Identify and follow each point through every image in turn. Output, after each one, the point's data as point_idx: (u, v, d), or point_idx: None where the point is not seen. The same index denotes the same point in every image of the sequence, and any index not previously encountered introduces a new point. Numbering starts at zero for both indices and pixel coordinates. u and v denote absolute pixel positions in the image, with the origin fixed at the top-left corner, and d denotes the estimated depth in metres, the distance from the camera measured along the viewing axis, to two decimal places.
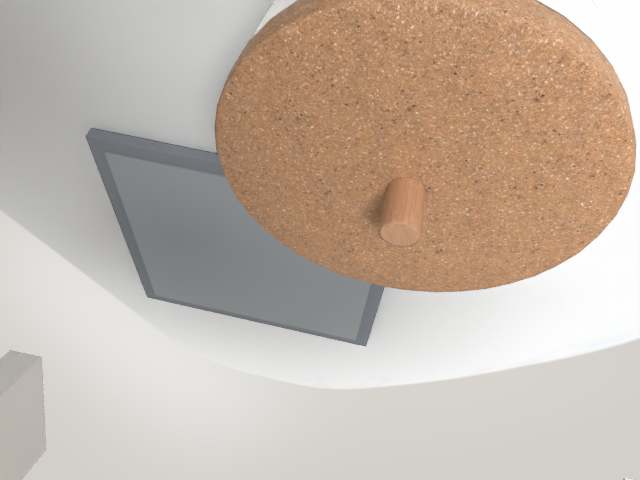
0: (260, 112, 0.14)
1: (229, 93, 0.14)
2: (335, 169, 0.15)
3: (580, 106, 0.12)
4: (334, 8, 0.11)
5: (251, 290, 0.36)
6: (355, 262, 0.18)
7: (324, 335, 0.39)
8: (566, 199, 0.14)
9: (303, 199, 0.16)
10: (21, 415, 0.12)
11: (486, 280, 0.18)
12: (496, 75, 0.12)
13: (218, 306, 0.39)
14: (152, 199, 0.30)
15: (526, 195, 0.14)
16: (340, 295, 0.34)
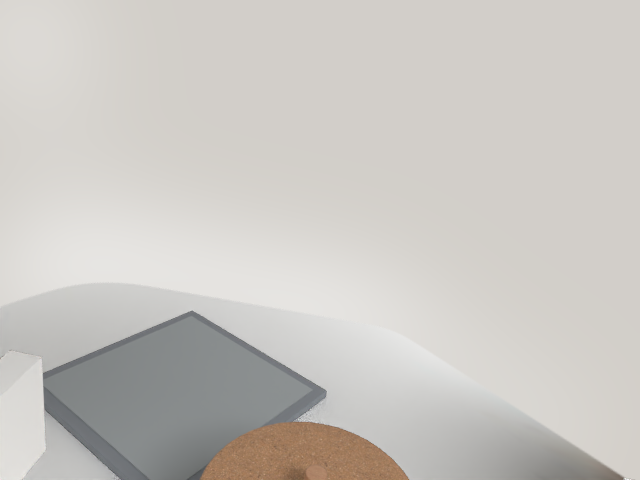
0: (386, 471, 0.28)
1: (398, 467, 0.29)
2: (340, 476, 0.27)
3: None
4: None
5: (153, 364, 0.45)
6: (263, 443, 0.29)
7: (62, 367, 0.43)
8: None
9: (325, 451, 0.29)
10: (21, 415, 0.12)
11: None
12: None
13: (153, 336, 0.48)
14: (268, 382, 0.45)
15: None
16: (103, 408, 0.40)
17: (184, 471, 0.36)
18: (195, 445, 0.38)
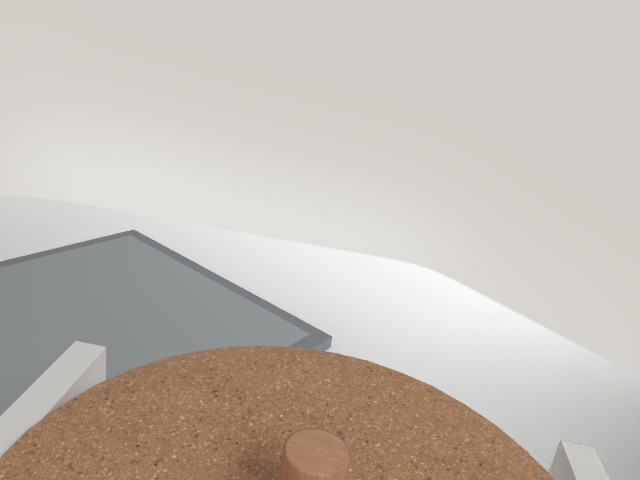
0: (493, 454, 0.11)
1: (518, 446, 0.12)
2: (379, 466, 0.10)
3: None
4: None
5: (52, 291, 0.28)
6: (186, 383, 0.12)
7: None
8: None
9: (339, 406, 0.12)
10: None
11: None
12: None
13: (63, 255, 0.31)
14: (238, 321, 0.28)
15: None
16: None
17: None
18: None
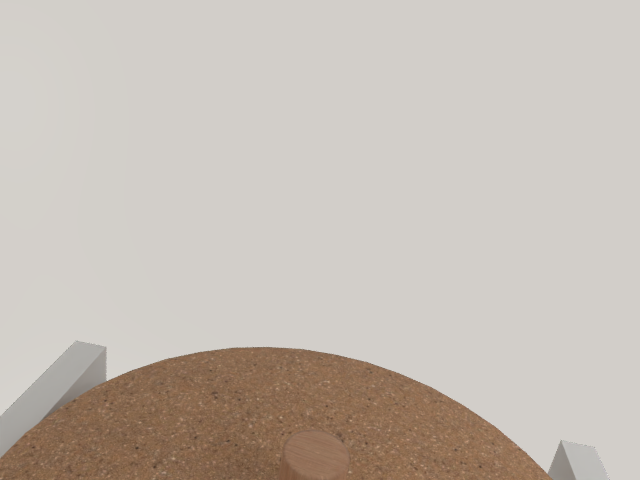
0: (493, 456, 0.11)
1: (518, 448, 0.12)
2: (378, 469, 0.10)
3: None
4: None
5: None
6: (185, 385, 0.12)
7: None
8: None
9: (339, 407, 0.12)
10: None
11: None
12: None
13: None
14: None
15: None
16: None
17: None
18: None
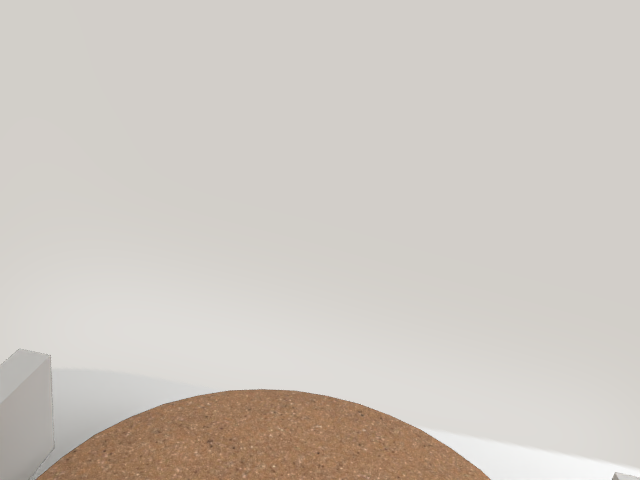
0: None
1: None
2: None
3: None
4: None
5: None
6: (181, 433, 0.12)
7: None
8: None
9: (330, 455, 0.12)
10: (30, 413, 0.12)
11: None
12: None
13: None
14: None
15: None
16: None
17: None
18: None
